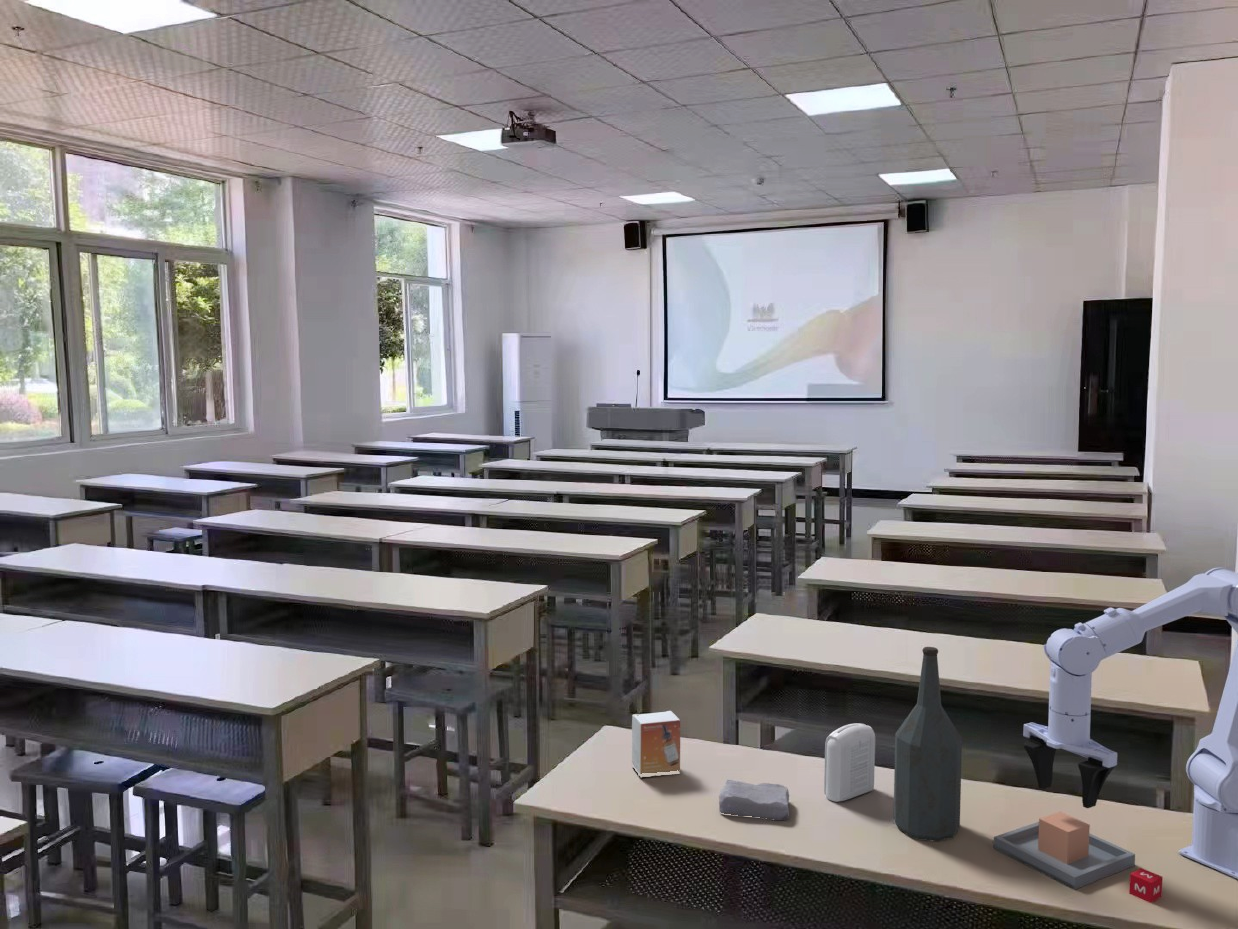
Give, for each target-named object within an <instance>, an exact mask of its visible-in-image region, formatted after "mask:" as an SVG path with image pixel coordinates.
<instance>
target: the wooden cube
mask: <svg viewBox="0 0 1238 929" xmlns="http://www.w3.org/2000/svg"><path fill="white" fill-rule="evenodd" d="M1038 822H1039V838H1038V850H1039V851H1041V852H1043V853H1045V854H1047V855H1049V856H1051V857H1053V858H1055V859H1057V860H1059V861H1061V862H1063V863H1065V864H1069V863H1072V862H1075V861H1077V860H1080V859H1083V858H1085V857H1088V856H1089V833H1090V829H1091V828H1090V825H1091V824H1089V823H1088V822H1084V821H1082V820H1080V819H1078V818H1076V817H1073V816H1071V815H1069V814H1066V813H1064V812H1062V811H1059V812H1055V813H1053V814H1049V815H1047V816H1043V817H1041V818H1038Z"/></svg>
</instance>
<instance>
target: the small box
mask: <svg viewBox="0 0 1238 929" xmlns="http://www.w3.org/2000/svg"><path fill="white" fill-rule="evenodd" d="M631 717H632V718H631V720H632V721H631V764H632V763H633V765H634V767H635V768H636V769H637V771H638V772H639V773H640V774H642V773H657V772H670V771H677V770H678V771H679V770H680V771H681V720H680V718H679V717H678V716H677V715H676V714H675V713H674V712H673V711H672V710H667V711H662V712H661V711H660V712H651V713H641V714H640V713H638V714H637V713H635V714H632V715H631Z"/></svg>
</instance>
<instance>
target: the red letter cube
mask: <svg viewBox="0 0 1238 929" xmlns="http://www.w3.org/2000/svg"><path fill="white" fill-rule="evenodd" d="M1128 889H1129V891H1128V892H1129V895H1131V896H1134V897H1136V898H1138V899H1141V900H1142V901H1144V902H1147V903H1149V904H1153V903H1154V902H1155V901H1157V900H1158V899H1160V898H1162V896H1163V895H1162V894H1163V876H1162V875H1159V874H1156V873H1155V872H1152V871H1149V870H1147V869H1145V868H1142V867H1140V868H1139V869H1136V870H1135V871H1133V872H1131V873H1129V888H1128Z"/></svg>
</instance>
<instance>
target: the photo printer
mask: <svg viewBox="0 0 1238 929" xmlns="http://www.w3.org/2000/svg"><path fill="white" fill-rule="evenodd" d="M824 745H825V746H824V779H823V782H824V783H823V786H824V787H823V791H824V795H825V797H826V798H827V800H829V801H832V802H837V803H838V802H843V801H847V800H850V799H852V798H855V797H859V796H861V795H864V794H866V793H869V792H871V791H873V790H874V789H875V767H876V766H875V764H876V763H875V758H876V735H875V731H874V729H873V728H872V727H871V726H870V725H868V724H867V725H866V724H865V723H860V722H859V723H855V722H854V723H849V724H845V725H843V726H841V727H839V728H837V729H836V730H833V731H832V732H831V733H830V734H829V735H828V736H827V737H826V739H825V741H824Z"/></svg>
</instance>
